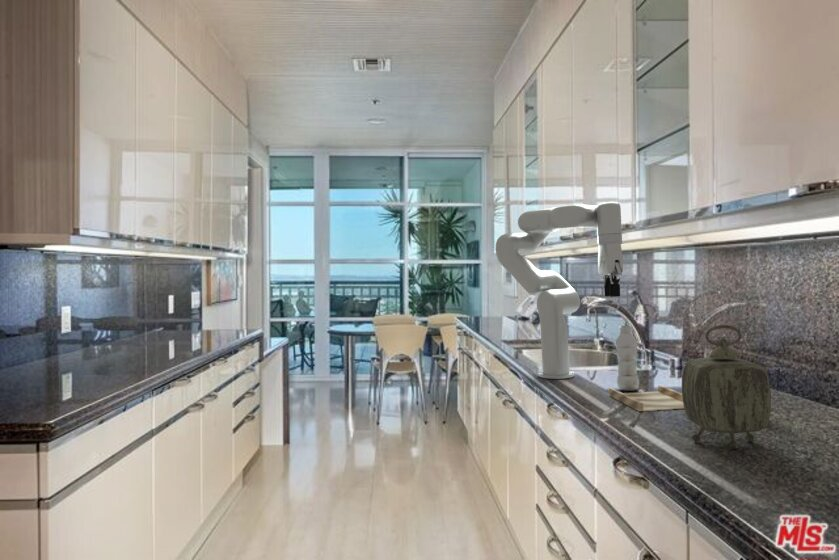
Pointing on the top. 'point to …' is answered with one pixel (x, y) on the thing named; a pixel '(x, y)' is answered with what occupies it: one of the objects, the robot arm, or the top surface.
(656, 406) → the wooden tray
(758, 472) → the top surface
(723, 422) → the tabletop clock
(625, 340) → the plastic bottle
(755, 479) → the top surface
